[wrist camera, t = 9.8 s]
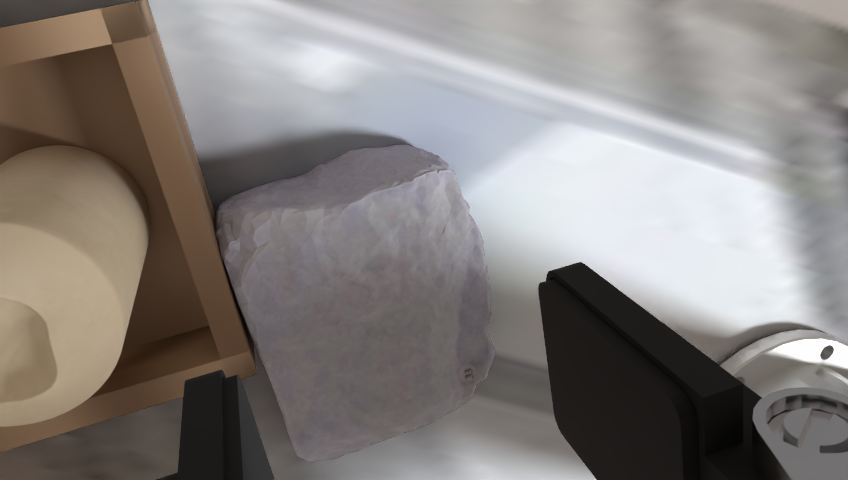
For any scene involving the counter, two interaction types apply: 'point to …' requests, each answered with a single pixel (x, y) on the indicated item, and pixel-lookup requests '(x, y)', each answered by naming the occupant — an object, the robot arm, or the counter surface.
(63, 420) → the tray
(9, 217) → the candle
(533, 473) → the counter surface
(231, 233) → the stone block
